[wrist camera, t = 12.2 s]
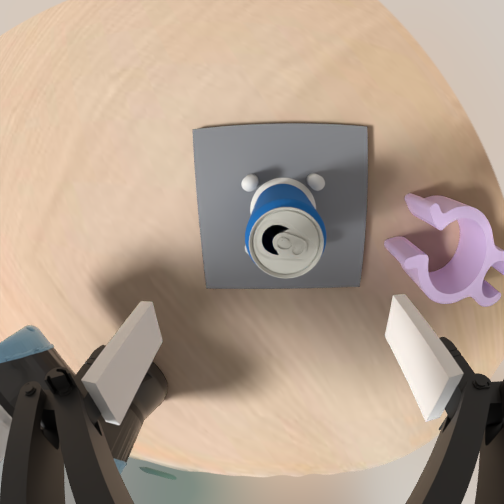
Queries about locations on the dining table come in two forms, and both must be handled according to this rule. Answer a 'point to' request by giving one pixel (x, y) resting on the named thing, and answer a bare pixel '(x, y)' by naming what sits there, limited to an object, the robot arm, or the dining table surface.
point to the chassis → (281, 172)
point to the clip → (464, 260)
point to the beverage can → (285, 232)
